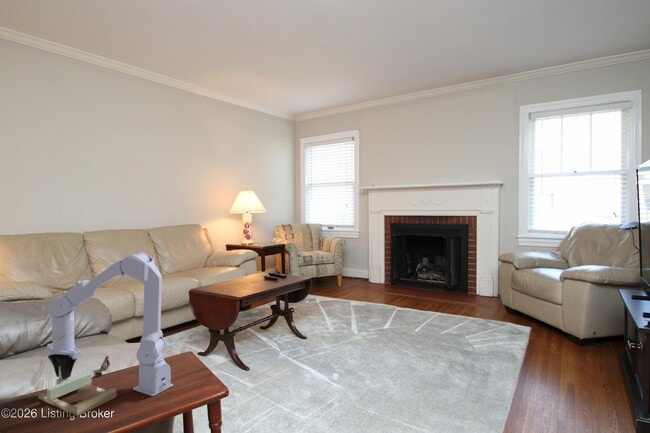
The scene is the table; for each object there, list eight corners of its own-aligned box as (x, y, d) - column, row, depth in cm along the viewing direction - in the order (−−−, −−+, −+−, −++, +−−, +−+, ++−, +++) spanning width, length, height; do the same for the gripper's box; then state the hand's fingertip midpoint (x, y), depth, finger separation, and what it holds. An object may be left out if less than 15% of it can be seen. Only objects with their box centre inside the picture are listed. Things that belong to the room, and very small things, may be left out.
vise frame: (116, 397, 114) (116, 389, 114) (77, 415, 104) (77, 407, 104) (77, 382, 123) (77, 375, 123) (38, 398, 113) (38, 390, 113)
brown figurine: (112, 363, 137) (110, 354, 135) (103, 381, 130) (100, 371, 128) (107, 363, 137) (105, 354, 135) (98, 381, 129) (95, 372, 127)
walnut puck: (100, 400, 113) (100, 387, 112) (83, 408, 108) (83, 394, 108) (90, 396, 115) (90, 383, 115) (73, 404, 110) (73, 390, 110)
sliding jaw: (91, 383, 120) (91, 361, 120) (50, 400, 109) (50, 376, 109) (80, 379, 123) (80, 358, 122) (39, 395, 112) (39, 372, 112)
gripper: (36, 333, 116) (36, 376, 116) (63, 342, 109) (63, 387, 110) (60, 327, 122) (60, 368, 123) (87, 334, 116) (87, 377, 116)
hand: (63, 376), depth 117 cm, fingers closed on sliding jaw, 2 cm apart
